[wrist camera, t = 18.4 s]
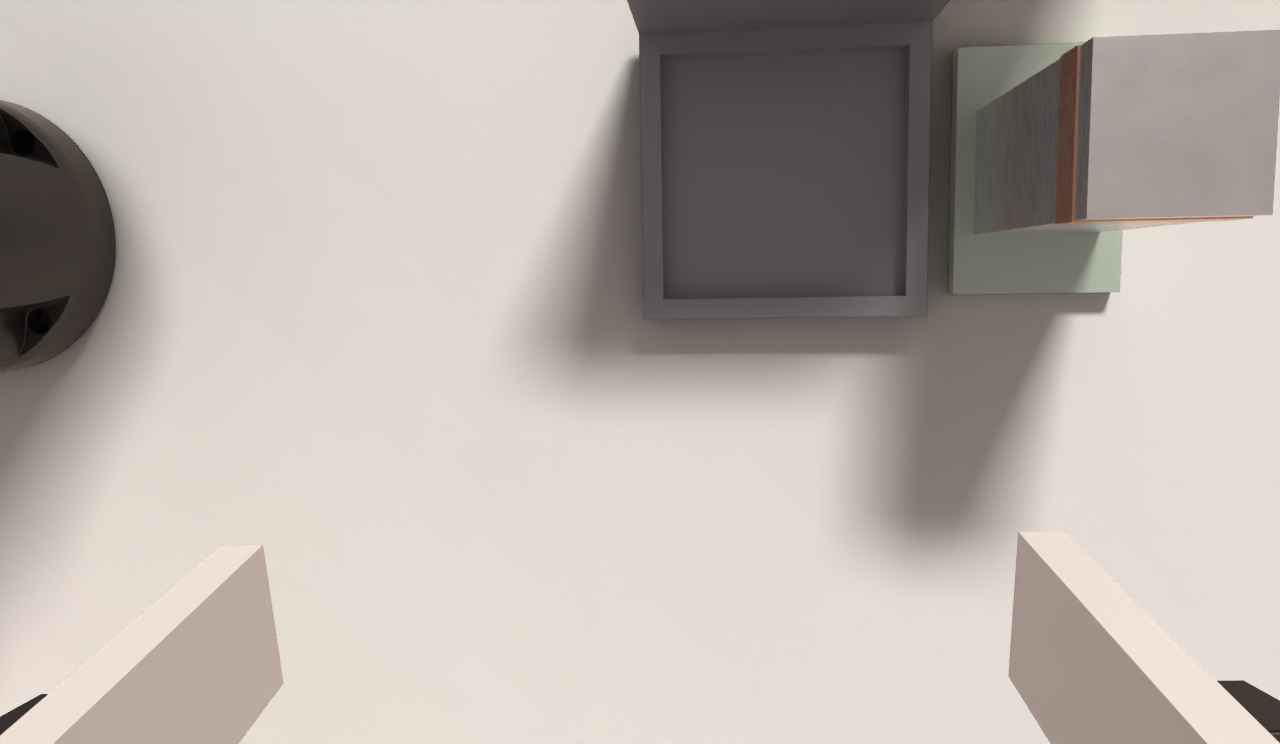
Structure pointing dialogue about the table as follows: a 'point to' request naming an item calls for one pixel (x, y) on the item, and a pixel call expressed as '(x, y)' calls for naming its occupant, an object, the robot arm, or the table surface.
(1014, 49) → the sage board
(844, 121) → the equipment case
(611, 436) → the table surface
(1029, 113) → the block
